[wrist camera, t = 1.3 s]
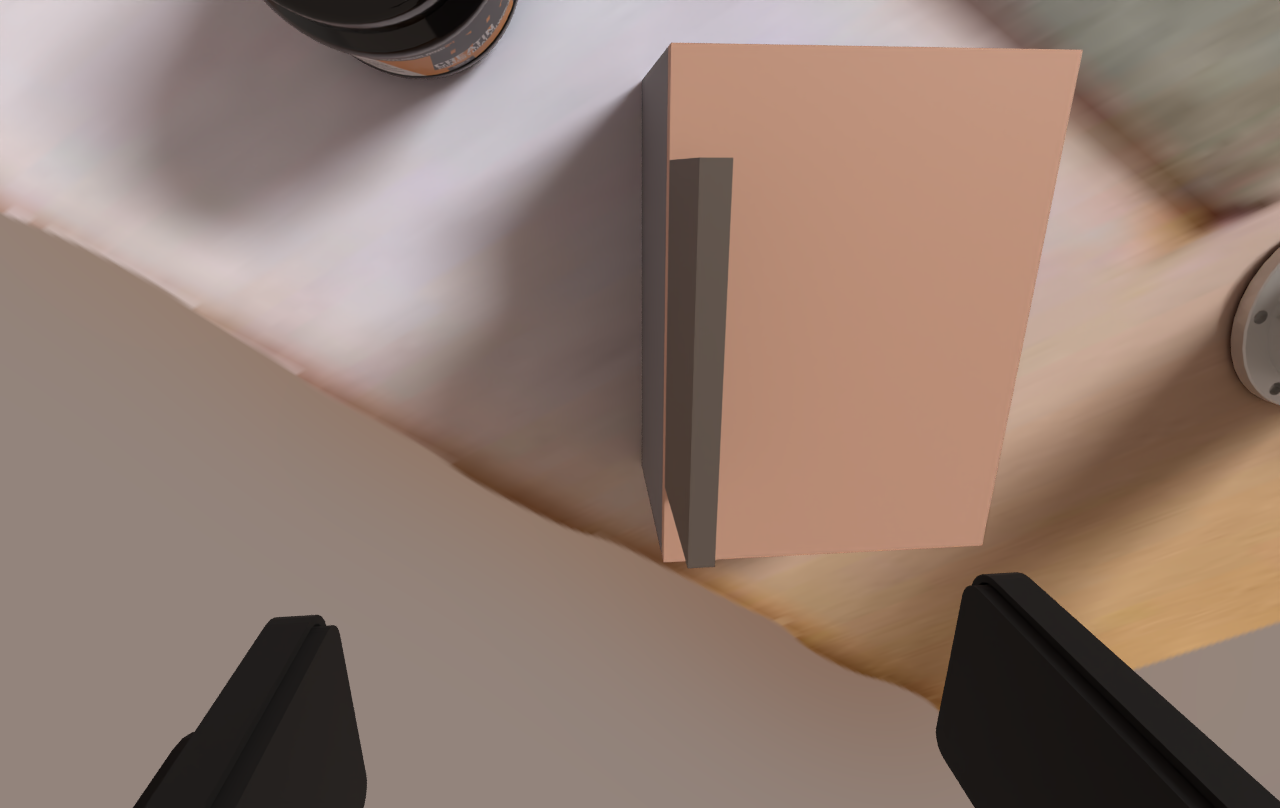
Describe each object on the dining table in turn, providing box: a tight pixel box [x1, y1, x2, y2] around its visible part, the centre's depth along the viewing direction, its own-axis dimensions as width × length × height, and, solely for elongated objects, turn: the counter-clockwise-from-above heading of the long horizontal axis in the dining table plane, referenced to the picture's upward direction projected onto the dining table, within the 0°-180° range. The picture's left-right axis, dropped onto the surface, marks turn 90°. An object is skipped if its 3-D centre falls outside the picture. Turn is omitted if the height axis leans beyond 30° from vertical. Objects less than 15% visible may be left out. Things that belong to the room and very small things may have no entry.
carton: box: [642, 48, 668, 552], centre depth 34 cm, size 16×22×10 cm
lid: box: [662, 43, 1083, 568], centre depth 26 cm, size 16×22×7 cm
